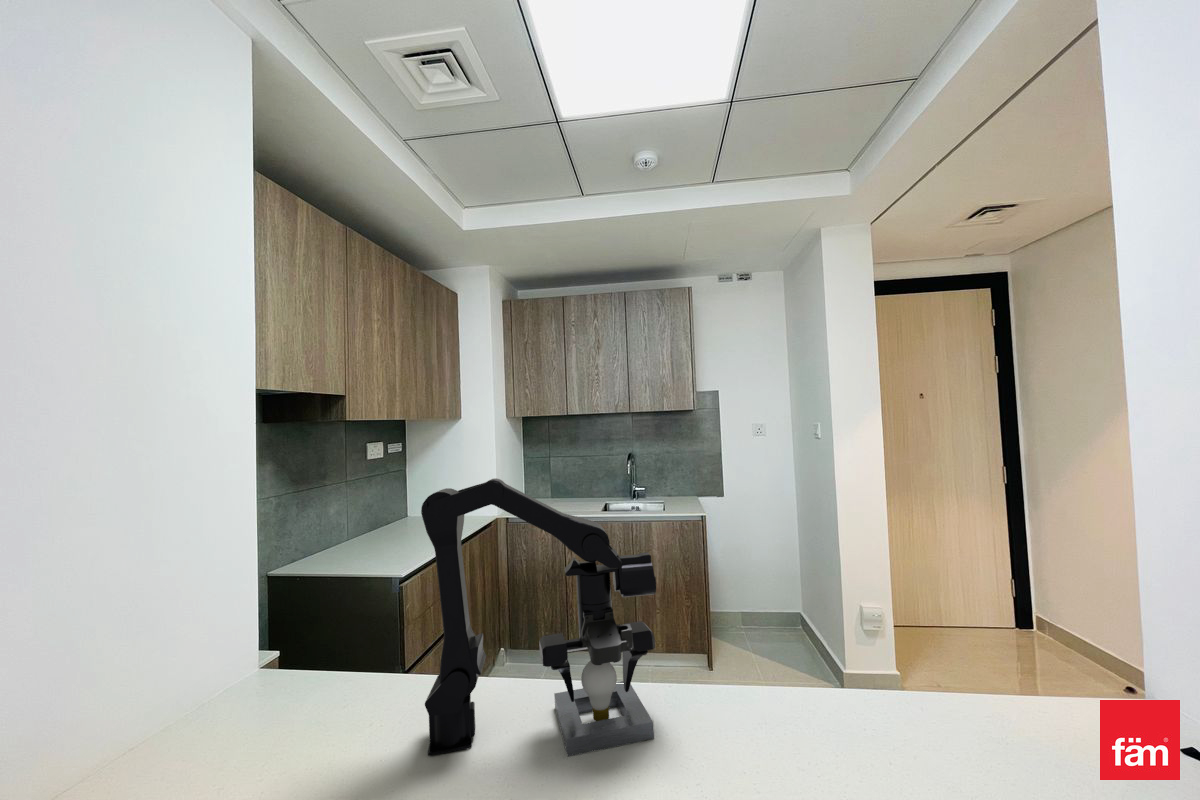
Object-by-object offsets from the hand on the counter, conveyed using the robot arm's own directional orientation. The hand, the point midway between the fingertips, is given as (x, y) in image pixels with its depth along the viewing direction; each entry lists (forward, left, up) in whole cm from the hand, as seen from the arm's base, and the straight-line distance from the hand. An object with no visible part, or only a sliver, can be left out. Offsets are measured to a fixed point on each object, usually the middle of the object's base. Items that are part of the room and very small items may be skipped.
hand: (599, 695), depth 80 cm
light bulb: (0, 0, -4) cm, 4 cm away
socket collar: (0, 0, -4) cm, 4 cm away
